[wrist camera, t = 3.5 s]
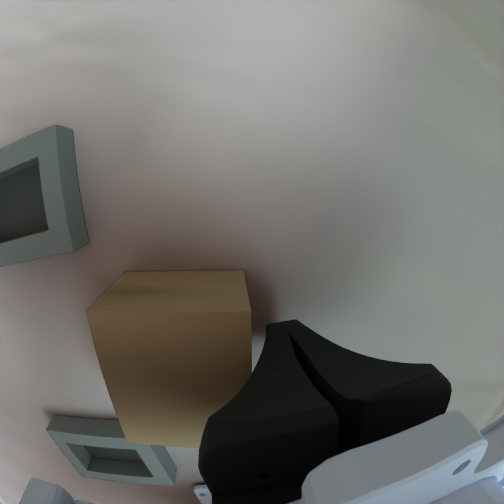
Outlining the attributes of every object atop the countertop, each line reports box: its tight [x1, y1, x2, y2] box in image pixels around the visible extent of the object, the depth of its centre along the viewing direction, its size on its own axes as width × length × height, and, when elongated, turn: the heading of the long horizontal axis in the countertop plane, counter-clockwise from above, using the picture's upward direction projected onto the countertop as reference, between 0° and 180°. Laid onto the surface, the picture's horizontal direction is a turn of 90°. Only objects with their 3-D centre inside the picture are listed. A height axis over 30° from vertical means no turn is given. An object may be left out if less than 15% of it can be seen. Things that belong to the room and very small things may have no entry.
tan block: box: [86, 270, 252, 447], centre depth 11 cm, size 6×5×4 cm
